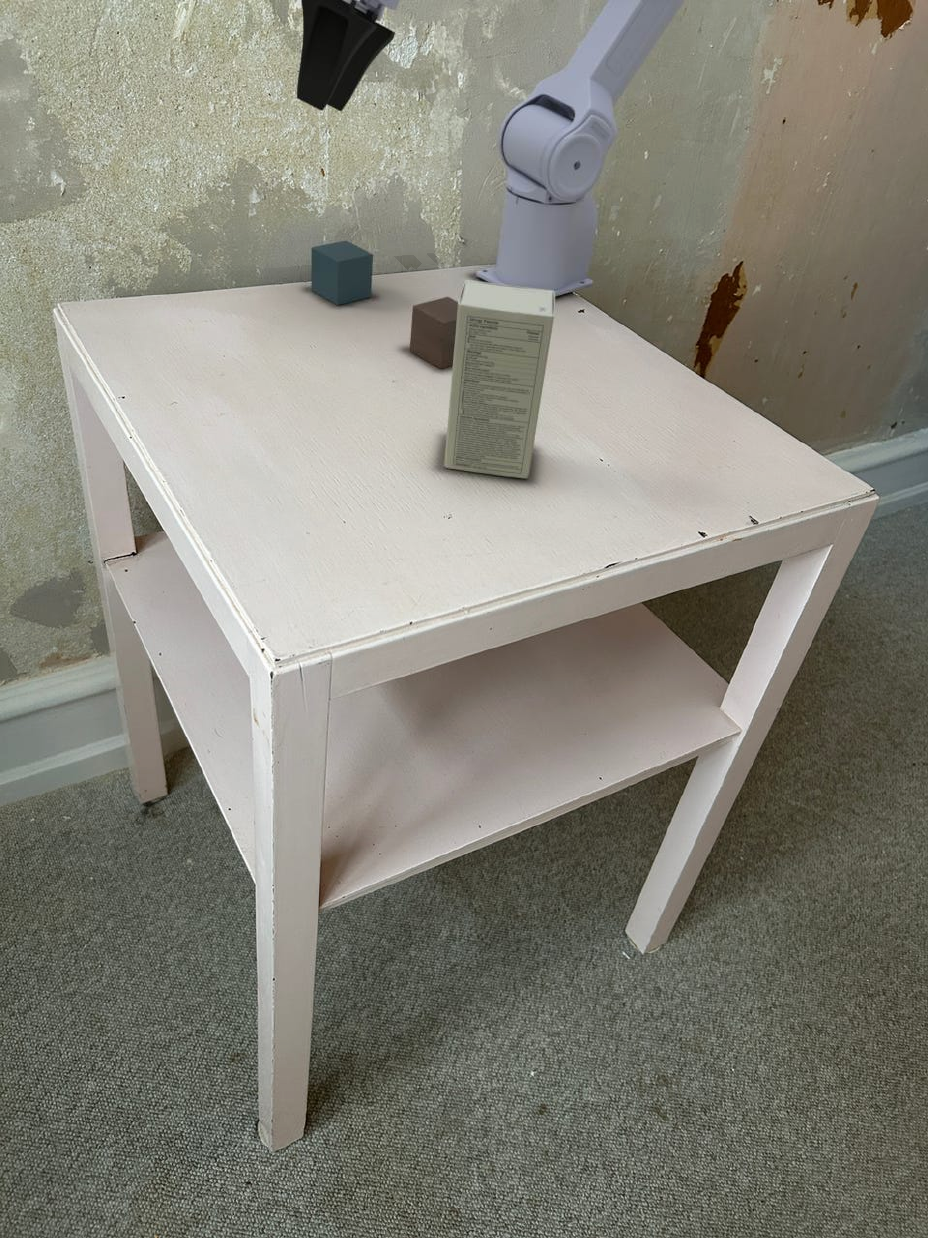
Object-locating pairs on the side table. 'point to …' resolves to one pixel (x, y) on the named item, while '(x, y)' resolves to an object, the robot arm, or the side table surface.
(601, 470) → the side table surface
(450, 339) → the walnut block
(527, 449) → the cosmetic box
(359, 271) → the slate block
